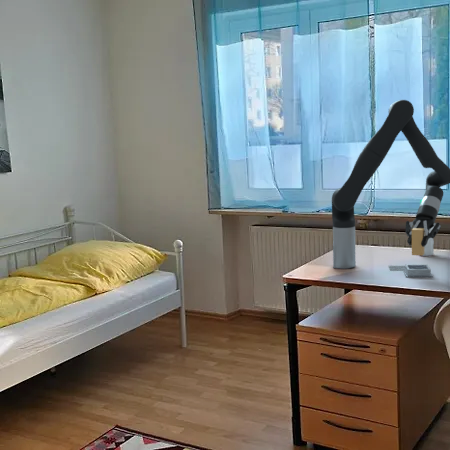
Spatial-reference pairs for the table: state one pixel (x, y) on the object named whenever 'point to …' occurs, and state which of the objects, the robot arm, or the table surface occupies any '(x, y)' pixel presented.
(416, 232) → the block
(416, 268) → the tray
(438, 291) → the table surface
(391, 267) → the jamb plate
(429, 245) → the water bottle
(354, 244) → the robot arm
